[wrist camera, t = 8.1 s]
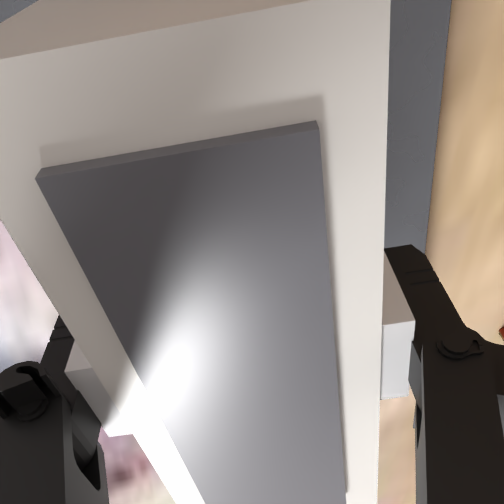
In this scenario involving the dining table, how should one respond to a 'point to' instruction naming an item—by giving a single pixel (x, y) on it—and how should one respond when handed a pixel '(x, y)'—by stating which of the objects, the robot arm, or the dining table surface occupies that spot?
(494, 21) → the dining table surface
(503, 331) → the carton
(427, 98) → the dark grey plate
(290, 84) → the white-framed grey panel
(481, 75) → the dining table surface
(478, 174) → the dining table surface
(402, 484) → the dining table surface
